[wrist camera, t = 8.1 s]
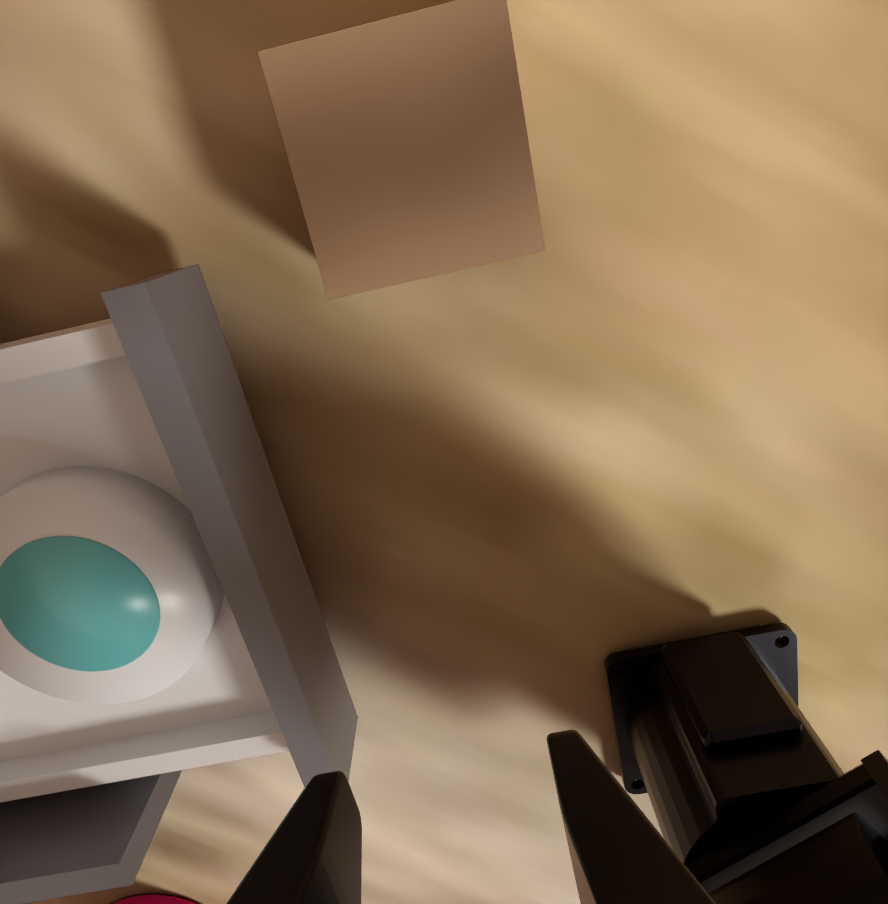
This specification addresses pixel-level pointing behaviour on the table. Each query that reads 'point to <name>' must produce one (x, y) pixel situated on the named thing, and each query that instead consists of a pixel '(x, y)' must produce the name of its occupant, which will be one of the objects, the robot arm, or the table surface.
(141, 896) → the pepper mill
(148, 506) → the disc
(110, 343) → the tray
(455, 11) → the block
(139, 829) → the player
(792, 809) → the robot arm
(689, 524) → the table surface
